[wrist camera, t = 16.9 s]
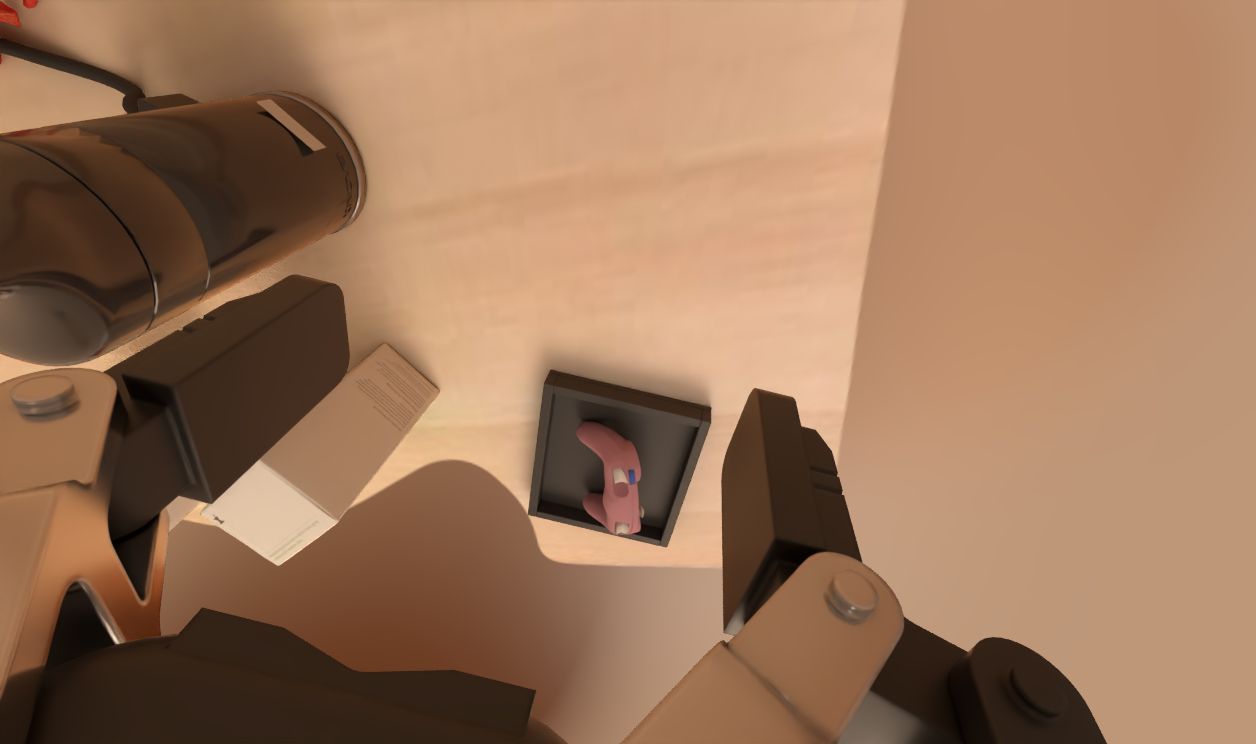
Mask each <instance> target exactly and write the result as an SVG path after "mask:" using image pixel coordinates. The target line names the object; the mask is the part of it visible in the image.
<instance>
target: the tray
mask: <svg viewBox="0 0 1256 744" xmlns="http://www.w3.org/2000/svg"><path fill="white" fill-rule="evenodd" d="M583 422H596V423H599V424H602V425H605V426H606V427H608V428H610V429H612V430H614V431H615V432H616V433H618V434H619V435H620V436H622V437H623V438H624V439H625V440H630V441H631V442H632V443H633V445H634V447H635V449H636V452H637V455H638V458H639V463H640V468H641V478H640V480H639V481H638V482H637V487H638V497H639V504H640V505H641V506H642V507H643V509H644V515H643V518H642V517H641V516H640V524H641V529H640V531H639V532H636V533H632V534H628V535H622V534H617V535H616V534H613V533H611V532H610V531H609V530H608V529H607V528H606V527H605V526H604V525H603V524H602V523H601V522H599V521H598V520H596V519H595V518H594V517H592V516H591V515H590V514H589V513H588V512H587V511H586V510H585V508H584V506H583V499H584V497H585V496H586V495H587V494H589V493H599V494H603V493H604V488H605V478H604V463H603V461H602V459H601V458H600V457H599V456H598V455H597V454H596V453H595V452H594V451H593V450H592V449H590V448H589V447H588V446H586V445H585V444H584V443H583V442H581V441H580V439H579V438H578V436H577V428H578V426H579V425H580V424H582V423H583ZM710 424H711V408H710V407H706V406H702V405H697V404H693V403H689V402H685V401H680V400H676V399H672V398H668V397H663V396H659V395H655V394H650V393H646V392H642V391H638V390H633V389H629V388H625V387H621V386H616V385H612V384H608V383H603V382H599V381H595V380H591V379H586V378H582V377H578V376H573V375H569V374H565V373H561V372H556V371H552V370H550V372H549V374H548V376H547V378H546V380H545V383H544V388H543V396H542V404H541V413H540V421H539V429H538V437H537V445H536V453H535V461H534V469H533V477H532V485H531V493H530V501H529V509H528V515H531V516H535V517H539V518H543V519H548V520H552V521H556V522H560V523H565V524H569V525H573V526H577V527H581V528H586V529H590V530H594V531H598V532H603V533H607V534H611V535H615V536H619V537H624V538H628V539H632V540H636V541H641V542H645V543H649V544H653V545H657V546H662V547H667V546H668V543H669V541H670V538H671V535H672V532H673V529H674V526H675V524H676V521H677V518H678V515H679V512H680V509H681V507H682V504H683V501H684V498H685V495H686V492H687V490H688V487H689V484H690V481H691V478H692V475H693V473H694V470H695V467H696V464H697V461H698V458H699V455H700V453H701V450H702V447H703V444H704V441H705V438H706V436H707V433H708V430H709V427H710Z"/></svg>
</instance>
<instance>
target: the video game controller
mask: <svg viewBox="0 0 1256 744" xmlns="http://www.w3.org/2000/svg"><path fill="white" fill-rule="evenodd" d="M577 436H578V438H579V439H580V441H581V442H583V443H584V444H585V445H586V446H588V447H589V448H590V449H592V450H593V451H594V452H595V453H596V454H597V455H598V456H599V457H600V458H601V459H602V461H603V463H604V478H605V488H604V493H603V494H599V493H589V494H587V495H586V496H585V497H584V499H583V506H584V508H585V510H586V511H587V512H588V513H589V514H590V515H591V516H592V517H594V518H595V519H596V520H598V521H599V522H601V523H602V524H603V525H604V526H605V527H606V528H607V529H608V530H609V531H610V532H611V533H613V534H616V535H617V534H622V535H628V534H632V533H636V532H639V531H640V529H641V524H640V516H641V517H642V518H643V515H644V509H643V507H642V506H641V505H640V504H639V497H638V487H637V482H638V481H639V480H640V478H641V468H640V463H639V458H638V455H637V452H636V449H635V447H634V445H633V443H632V442H631V441H630V440H625V439H624V438H623V437H622V436H620V435H619V434H618V433H616V432H615V431H614V430H612V429H610V428H608V427H606V426H605V425H602V424H599V423H596V422H583V423H582V424H580V425H579V426H578V428H577Z"/></svg>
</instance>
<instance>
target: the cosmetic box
mask: <svg viewBox="0 0 1256 744" xmlns="http://www.w3.org/2000/svg"><path fill="white" fill-rule="evenodd" d="M438 394H439V390H438V389H437V388H436V387H435V386H433V385H432V384H431V383H430V382H429V381H428V380H427V379H426V378H424V377H423V376H422V375H421V374H420V373H419V372H418V371H417V370H415V369H414V368H413V367H412V366H411V365H410V364H409V363H408V362H406V361H405V360H404V359H403V358H402V357H401V356H400V355H399V354H398V353H396V352H395V351H394V350H393V349H392V348H391V347H390V346H389V345H388V344H386V343H384V344H383V345H381V346H380V347H379V348H378V349H377V350H375V351H374V352H373V353H372V354H371V355H369V356H368V357H367V358H366V359H365V360H363V361H362V362H361V363H360V364H359V365H358V366H356V367H355V368H354V369H353V370H352V371H351V372H349V373H348V374H347V375H346V376H344V377H343V379H342V380H341V382H340V383H339V384H338V385H337V386H336V387H335V388H334V389H333V390H332V391H331V392H330V393H329V394H328V395H327V396H326V397H325V398H324V399H323V400H321V401H320V402H319V403H318V404H317V405H316V406H315V407H314V408H313V409H312V410H311V411H310V412H309V413H308V414H307V415H306V416H305V417H304V418H302V419H301V420H300V421H299V422H298V423H297V424H296V425H295V426H294V427H293V428H292V429H291V430H290V431H289V432H288V433H287V434H286V435H285V436H283V437H282V438H281V439H280V440H279V441H278V442H277V443H276V444H275V445H274V446H273V447H272V448H271V449H270V450H269V451H268V452H267V453H266V454H264V455H263V456H262V457H261V458H260V459H259V460H258V461H257V462H256V463H255V464H254V465H253V466H252V467H251V468H250V469H249V470H248V471H247V472H246V473H244V474H243V475H242V476H241V477H240V478H239V479H238V480H237V481H236V482H235V483H234V484H233V485H232V486H231V487H230V488H229V489H228V490H227V491H225V492H224V493H223V494H222V495H221V496H220V497H219V498H218V499H217V500H216V501H215V502H214V503H213V504H209V503H208V504H207V505H206V506H205V507H204V508H203V510H202V511H201V513H200V514H201V515H202V516H203V517H205V518H206V519H208V520H209V521H211V522H212V523H214V524H215V525H217V526H218V527H220V528H221V529H223V530H224V531H226V532H228V533H229V534H231V535H232V536H234V537H235V538H237V539H238V540H240V541H241V542H243V543H244V544H246V545H247V546H249V547H250V548H252V549H253V550H254V551H256V552H257V553H259V554H260V555H262V556H263V557H265V558H266V559H268V560H270V561H271V562H273V563H274V564H276V565H278V566H279V565H281V564H282V563H283V562H285V561H286V560H288V559H289V558H291V557H292V556H293V555H295V554H296V553H297V552H299V551H300V550H302V549H303V548H304V547H306V546H307V545H309V544H310V543H311V542H313V541H314V540H315V539H317V538H318V537H319V536H321V535H322V534H324V533H325V532H326V531H327V530H329V529H330V528H331V527H333V526H334V525H335V524H337V523H338V522H339V520H340V518H341V517H342V516H343V514H344V513H345V512H346V511H347V509H348V508H349V507H350V506H351V504H352V503H353V502H354V501H355V499H356V498H357V497H358V496H359V494H360V493H361V492H362V491H363V489H364V488H365V487H366V485H367V484H368V483H369V482H370V480H371V479H372V478H373V477H374V475H375V474H376V473H377V472H378V470H379V469H380V468H381V466H382V465H383V464H384V463H385V461H386V460H387V459H388V458H389V456H390V455H391V454H392V453H393V451H394V450H395V449H396V448H397V446H398V445H399V444H400V442H401V441H402V440H403V439H404V437H405V436H406V435H407V434H408V432H409V431H410V430H411V428H412V427H413V426H414V425H415V423H416V422H417V421H418V420H419V418H420V417H421V416H422V415H423V413H424V412H425V411H426V409H427V408H428V407H429V406H430V404H431V403H432V402H433V401H434V399H435V398H436V397H437V395H438Z"/></svg>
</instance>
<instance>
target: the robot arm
mask: <svg viewBox="0 0 1256 744" xmlns="http://www.w3.org/2000/svg"><path fill="white" fill-rule="evenodd" d="M0 53H4V54H7V55H11V56H14V57H17V58H21V59H24V60H27V61H30V62H33V63H36V64H40V65H43V66H46V67H50V68H53V69H57V70H60V71H63V72H67V73H70V74H74V75H77V76H80V77H84V78H87V79H90V80H93V81H96V82H99V83H102V84H105V85H107V86H110V87H112V88H114V89H116V90H118V91H120V92H122V93H123V94H125V95H126V96H125V97H124V98H123V103H122V106H123V108H124V110H125V111H126V112H127V114H126V115H119V116H112V117H106V118H99V119H92V120H86V121H79V122H72V123H66V124H59V125H52V126H46V127H41V128H35V129H28V130H22V131H15V132H8V133H1V134H0V354H2V355H5V356H8V357H11V358H14V359H17V360H20V361H23V362H27V363H32V364H37V365H44V366H70V365H76V364H80V363H84V362H87V361H91V360H93V359H96V358H98V357H100V356H102V355H104V354H106V353H108V352H111V351H113V350H114V349H116V348H118V347H120V346H122V345H124V344H126V343H127V342H129V341H131V340H133V339H135V338H136V337H139V336H141V335H143V334H144V333H146V332H148V331H150V330H152V329H154V328H156V327H157V326H159V325H161V324H163V323H165V322H167V321H169V320H171V319H172V318H174V317H176V316H178V315H180V314H182V313H184V312H185V311H187V310H189V309H190V308H192V307H194V306H196V305H198V304H200V303H202V302H204V301H205V300H207V299H209V298H211V297H213V296H215V295H217V294H218V293H220V292H222V291H224V290H226V289H228V288H230V287H231V286H233V285H235V284H237V283H239V282H241V281H243V280H245V279H246V278H248V277H250V276H252V275H254V274H256V273H258V272H259V271H261V270H263V269H265V268H267V267H269V266H271V265H273V264H274V263H276V262H278V261H280V260H282V259H284V258H286V257H287V256H289V255H291V254H293V253H295V252H297V251H299V250H301V249H302V248H304V247H306V246H308V245H310V244H312V243H314V242H316V241H317V240H319V239H321V238H323V237H325V236H326V235H329V234H333V233H335V232H337V231H339V230H341V229H343V228H345V227H347V226H348V225H350V224H351V223H352V222H353V221H354V220H355V219H356V218H357V216H358V215H359V213H360V212H361V210H362V207H363V205H364V201H365V196H366V178H365V172H364V167H363V164H362V161H361V158H360V156H359V153H358V151H357V149H356V147H355V145H354V143H353V142H352V140H351V138H350V137H349V135H348V134H347V132H346V131H345V130H344V129H343V127H342V126H341V125H340V124H339V123H338V122H337V120H336V119H335V118H333V117H332V116H331V115H330V114H329V113H328V112H327V111H326V110H324V109H323V108H322V107H320V106H319V105H317V104H316V103H314V102H312V101H311V100H309V99H307V98H305V97H302V96H300V95H297V94H294V93H290V92H284V91H269V92H262V93H257V94H254V95H251V96H247V97H241V98H234V99H225V100H219V101H212V102H205V103H200V102H198V101H196V100H194V99H192V98H190V97H187V96H185V95H183V94H173V95H165V96H156V97H148V98H146V96H145V94H144V93H143V91H142V90H141V89H140V88H138V87H137V86H136V85H134V84H132V83H131V82H129V81H127V80H125V79H123V78H121V77H119V76H117V75H115V74H112V73H110V72H107V71H105V70H102V69H99V68H97V67H94V66H91V65H88V64H85V63H81V62H78V61H75V60H72V59H68V58H65V57H61V56H58V55H55V54H51V53H48V52H45V51H41V50H38V49H35V48H31V47H28V46H25V45H22V44H19V43H16V42H13V41H9V40H6V39H2V38H0ZM349 356H350V354H349V343H348V334H347V324H346V314H345V305H344V297H343V293H342V290H341V289H340V287H339V286H338V285H336V284H333V283H329V282H325V281H321V280H317V279H313V278H309V277H305V276H301V275H290V276H288V277H286V278H284V279H283V280H281V281H279V282H278V283H276V284H274V285H272V286H271V287H269V288H267V289H266V290H264V291H262V292H260V293H257V294H253V295H250V296H246V297H243V298H239V299H236V300H232V301H229V302H227V303H225V304H223V305H222V306H220V307H218V308H216V309H214V310H213V311H211V312H209V313H207V314H206V315H204V318H203V319H200V318H198V319H197V320H195V321H193V322H191V323H190V324H188V325H186V326H184V327H183V330H182V331H180V330H177V331H175V332H174V333H172V334H170V335H168V336H167V337H165V338H163V339H161V340H159V341H158V342H156V343H154V344H152V345H151V346H149V347H147V348H145V349H143V350H142V351H140V352H138V353H136V354H135V355H133V356H131V357H129V358H127V359H126V360H124V361H122V362H120V363H119V364H117V365H115V366H113V367H112V368H110V369H108V370H106V371H104V372H100V371H97V370H92V369H84V368H60V369H51V370H44V371H39V372H34V373H30V374H26V375H22V376H19V377H16V378H13V379H10V380H8V381H5V382H3V383H1V384H0V744H567V743H566V742H565V740H564V739H562V738H561V737H560V736H559V735H558V734H556V733H555V732H554V731H553V730H552V729H550V728H549V727H548V726H547V725H545V724H543V723H542V722H540V721H538V720H537V719H535V718H534V717H532V716H531V713H532V708H533V704H534V699H535V694H536V690H532V689H528V688H524V687H520V686H516V685H512V684H508V683H504V682H500V681H496V680H492V679H488V678H484V677H480V676H476V675H472V674H468V673H464V672H460V671H455V670H440V671H439V670H436V671H398V672H397V671H396V672H359V671H355V670H352V669H350V668H348V667H346V666H345V665H343V664H341V663H340V662H338V661H337V660H335V659H333V658H332V657H330V656H329V655H327V654H325V653H324V652H322V651H320V650H319V649H317V648H316V647H314V646H312V645H311V644H309V643H308V642H306V641H304V640H303V639H301V638H299V637H298V636H296V635H295V634H293V633H291V632H290V631H288V630H287V629H285V628H282V627H278V626H274V625H270V624H266V623H262V622H258V621H254V620H250V619H246V618H242V617H238V616H234V615H230V614H226V613H222V612H218V611H214V610H210V609H206V608H201V609H200V611H199V612H198V613H197V614H196V615H195V616H194V617H193V618H192V620H191V621H190V622H189V623H188V624H187V625H186V626H185V628H184V629H183V630H182V631H181V632H180V633H179V634H171V635H163V636H161V632H160V620H159V619H160V606H161V597H162V588H163V580H164V571H165V562H166V552H167V544H168V535H169V527H170V516H169V513H168V511H167V508H166V506H168V505H169V504H170V503H171V502H172V501H173V500H174V499H176V498H177V497H178V496H181V497H185V498H189V499H193V500H197V501H201V502H205V503H209V504H213V503H214V502H215V501H216V500H217V499H218V498H219V497H220V496H221V495H222V494H223V493H224V492H225V491H227V490H228V489H229V488H230V487H231V486H232V485H233V484H234V483H235V482H236V481H237V480H238V479H239V478H240V477H241V476H242V475H243V474H244V473H246V472H247V471H248V470H249V469H250V468H251V467H252V466H253V465H254V464H255V463H256V462H257V461H258V460H259V459H260V458H261V457H262V456H263V455H264V454H266V453H267V452H268V451H269V450H270V449H271V448H272V447H273V446H274V445H275V444H276V443H277V442H278V441H279V440H280V439H281V438H282V437H283V436H285V435H286V434H287V433H288V432H289V431H290V430H291V429H292V428H293V427H294V426H295V425H296V424H297V423H298V422H299V421H300V420H301V419H302V418H304V417H305V416H306V415H307V414H308V413H309V412H310V411H311V410H312V409H313V408H314V407H315V406H316V405H317V404H318V403H319V402H320V401H321V400H323V399H324V398H325V397H326V396H327V395H328V394H329V393H330V392H331V391H332V390H333V389H334V388H335V387H336V386H337V385H338V384H339V383H340V382H341V380H342V379H343V377H344V375H345V373H346V371H347V368H348V364H349ZM837 473H838V472H837V468H836V465H835V461H834V457H833V454H832V451H831V449H830V448H829V447H828V446H827V444H826V443H825V442H824V440H823V439H822V438H821V436H820V435H819V434H818V432H817V431H816V430H814V429H809V428H805V427H801V424H800V419H799V414H798V410H797V405H796V401H795V399H794V398H793V397H790V396H786V395H781V394H777V393H773V392H769V391H765V390H761V389H757V388H754V389H753V390H752V392H751V393H750V395H749V397H748V399H747V402H746V404H745V407H744V409H743V412H742V414H741V417H740V419H739V422H738V424H737V427H736V429H735V431H734V434H733V436H732V439H731V441H730V444H729V446H728V449H727V452H726V455H725V459H724V464H723V469H722V480H721V483H722V554H723V620H724V621H723V622H724V623H723V624H724V633H725V634H730V635H733V636H734V637H733V638H732V639H731V640H730V641H729V642H728V643H726V642H725V641H720V642H719V643H717V644H716V645H715V646H714V647H713V648H712V649H711V650H710V651H709V652H708V653H707V654H706V655H705V656H704V657H703V658H702V659H701V660H700V661H699V662H698V663H697V664H696V665H695V666H694V667H693V668H692V669H691V670H690V671H689V672H688V674H687V675H685V676H684V678H683V679H682V680H681V681H680V682H679V683H678V684H677V685H676V686H675V687H674V688H673V689H672V690H671V691H670V692H669V693H668V694H667V695H666V696H665V697H664V698H663V700H662V701H661V702H660V703H659V704H658V705H657V706H656V707H655V708H654V709H653V710H652V711H651V712H650V713H649V714H648V715H647V716H646V717H645V718H644V719H643V720H642V721H641V722H640V723H639V725H638V726H637V727H636V728H635V729H634V730H633V731H632V732H631V733H630V734H629V735H628V736H627V737H626V738H625V739H624V740H623V741H622V742H621V743H620V744H1107V743H1106V741H1105V739H1104V737H1103V735H1102V733H1101V731H1100V729H1099V727H1098V725H1097V723H1096V721H1095V719H1094V717H1093V715H1092V713H1091V711H1090V709H1089V707H1088V706H1087V704H1086V702H1085V701H1084V699H1083V698H1082V696H1081V695H1080V693H1079V692H1078V691H1077V689H1076V688H1075V687H1074V686H1073V685H1072V683H1071V682H1070V681H1069V680H1068V679H1067V678H1066V677H1065V676H1064V675H1063V674H1062V673H1061V672H1060V671H1059V670H1058V669H1057V668H1056V667H1055V666H1053V665H1052V664H1051V663H1050V662H1049V661H1047V660H1046V659H1045V658H1043V657H1042V656H1041V655H1039V654H1038V653H1036V652H1034V651H1033V650H1031V649H1029V648H1028V647H1026V646H1024V645H1022V644H1019V643H1017V642H1014V641H1011V640H1008V639H1004V638H996V637H992V638H985V639H983V640H981V641H979V642H978V643H977V644H976V645H975V646H974V647H973V648H972V649H971V650H970V651H969V652H967V651H965V650H963V649H961V648H959V647H957V646H955V645H954V644H952V643H950V642H948V641H946V640H944V639H942V638H940V637H938V636H937V635H935V634H933V633H931V632H929V631H927V630H925V629H923V628H921V627H920V626H918V625H916V624H914V623H913V622H911V621H909V620H908V619H906V618H905V617H904V615H903V611H902V608H901V606H900V604H899V601H898V599H897V597H896V596H895V594H894V592H893V591H892V589H891V588H890V587H889V586H888V584H887V583H886V582H885V581H884V580H883V579H882V578H881V577H880V576H879V575H878V574H876V572H874V571H873V570H872V569H871V568H869V567H868V566H866V565H865V564H863V563H862V559H861V555H860V552H859V548H858V544H857V541H856V537H855V534H854V530H853V526H852V523H851V519H850V516H849V512H848V508H847V505H846V501H845V497H844V495H842V491H843V490H842V487H841V483H840V479H839V477H837Z"/></svg>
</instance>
